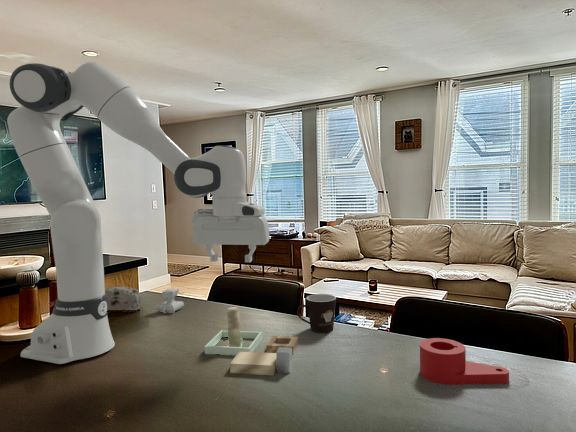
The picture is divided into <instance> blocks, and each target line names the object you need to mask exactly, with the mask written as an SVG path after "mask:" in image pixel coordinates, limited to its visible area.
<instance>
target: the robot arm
mask: <svg viewBox="0 0 576 432" xmlns="http://www.w3.org/2000/svg"><path fill="white" fill-rule="evenodd" d="M9 89H10V93H11V95H12V97H13V98H14V99H15V101H16V102H17V103H18V104H20V105H21V106H20V107H17V108H15V109H14V110H12V111H11V112H10V113H9V114H8V117H7V120H6V123H7V127H8V132H9V134H10V138H11V140H12V144H13V146H14V149H15V152H16V154H17V156H18V158H19V160H20V161H21V162H20V163H21V164H22V166H23V168H24V170H25V173H26V174H27V177H28V179H29V181H30V183H31V185H32V187H33V189H34V190H35V192H36V194H37V195H38V197H39V198H40V200H41V202H42V204H43V205H44V207H45V209H46V210H47V213H48V214H49V216H50V224H49V226H50V236H51V245H52V252H53V258H54V260H53V261H54V266H55V272H56V275H55V276H56V277H55V278H56V288H57V289H56V290H57V298H56V299H55V300H53V301H50V302H48V308H53V309H52V313H51V314H50V315H49V316H47V317H46V318H45V319H44V320H43V321H42V322H41V323H40V324H38V325H37V326H36V327H35V328H34V329H33V330H32V332H31V336H30V345H28V346H27V347H25V348H24V349H22V350H21V352H20V357H21V358H24V359H29V360H30V359H31V360H35V361H41V362H47V363H53V364H56V365H62V364H66V363H70V362H73V361H77V360H78V361H79V360H84V359H89V358H92V357H96V356H99V355H102V354H104V353H106V352H108V351H110V350H112V349H114V347H115V345H116V342H115V341H114V337H113V335H112V331H111V327H110V324H109V318H108V317H109V316H108V312H107V311H108V301H107V293H105V292H106V288H105V286H106V285H105V269H104V268H105V267H104V254H103V253H104V252H103V241H102V240H103V239H102V219H101V214H100V212H99V209H98V208H97V205H96V203H95V202H94V199H93V197H92V195H91V192H90V191H89V188H88V186H87V184H86V182H85V180H84V178H83V176H82V174H81V172H80V169H79V167H78V165H77V163H76V161H75V159H74V156H73V154H72V152H71V149H70V148H69V146H68V144H67V141H66V139H65V137H64V135H63V132H62V130H61V126H60V123H61V121H64V122H65V121H68V120H69V119H70V118H71V117H72V116H74V115H75V114H77V113H78V112H79V111H81V110H82V109H83V108H85V109H87V110H88V111H89V112H91V114H93V115H94V117H96V119H98V120H99V121H100V122H101V123H102V124H104V125H105V126H106V128H107V127H108V129H109V130H111V131H113V132H114V133H115V134H117V135H119V136H121V137H122V138H124V139H126V140H128V141H131V142H132V143H134V144H136V145H138V146H140V147H142V148H144V149H145V150H146V151H148V152H149V153H150V154H152V155H153V156H154V158H155V159H157V160H158V161H159V162H161V164H162V165H163V166H164V167H165V168H167V169H168V170H169V171H170V172H171V173H172V174H173V179H174V183H175V186H176V187H177V189H178V190H179V192H181V193H182V194H184V195H185V196H188V197H190V198H195V199H199V198H200V199H201V198H203V197H206V196H208V195H209V194H211V196H212V208H205V209H203V208H199V209H197V210H195V211H194V212H193V214H192V223H193V225H192V226H193V227H192V238H191V240H192V242H193V243H194V244H195V245H205V249H206V251H207V253H208V254H209V259H210V261H209V262H211V263H212V262H218V261H219V254H218V253H215V251H214V250H213V248H214V247H215V245H217V246H218V245H224V246H225V245H233V246H234V245H235V246H239V245H241V246H244V245H245V246H248V249H249V250H250V251H249V253H248V254H245V255H244V263H251V262H252V261H253V254H254V252H255V251H256V249H257V246H265V245H266V244H268V243H269V241H270V228H269V223H268V220H267V218H266V216H264V214H265V213H266V212H265V207H263V206H262V205H258V204H256V203H252V202H249V201H248V198H247V192H246V183H247V167H246V165H247V164H246V159H245V156H244V153H243V152H242V151H241V150H240V149H239V148H237V147H234V146H229V145H221V144H220V145H215V146H214V147H213V148H212V149H210V150H208V151H207V152H205V153H202V154H201V155H198V156H195V157H190V156H189V155H188V154H187V153H185V152H184V151H183V150H182V149H181V148H180V147H179V146H178V145H177V144H176V143H175V142H174V141H173V140H172V139H171V138H170V137H168V135H167V134H166V133H165V132H164V130H163V129H162V127H161V125H160V124H159V123H158V121H157V119H156V117H155V116H154V113H153V112H152V111H151V109H150V108H149V106H148V105H147V103H146V102H145V101H144V99H142V97H141V96H140V95H139V94H138V93H137V92H136V90H135V89H133V88H132V87H131V86H130V85H129V84H128V83H127V82H126V81H124V79H122V78H121V77H120V76H119V75H117V74H116V73H115V72H113V71H112V70H110V69H109V68H107V67H106V66H104V65H103V64H102V63H100V62H96V61H90V62H86V63H83V64H81V65H80V66H78V67H77V68H76V69H75V70H74V71H73V72H71V71H67V70H65V69H62V68H60V67H56V66H51V65H47V64H43V63H37V62H36V63H34V62H32V63H26V64H22V65H20V66H18V67H17V68H15V69H14V70H13V72H12V73H11V75H10V78H9Z"/></svg>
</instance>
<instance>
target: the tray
mask: <svg viewBox="0 0 576 432" xmlns="http://www.w3.org/2000/svg"><path fill="white" fill-rule="evenodd" d="M222 337H228V330H223V329H222V330H220V331H219V332H218V333H216V335H214V336H213V338H211V339H210V340H209V342H208V343H206V344H205V345H204V355H215V354H220V355H219V356H231V355H232V357H233V356H234V357H235V356H236V355H237V354H238V352H255V350H256V348H257V347H258V346H259V344H260V343H261V341H262V339H263V331H249V330H248V331H245V330H244V331H243V330H240V338H244V339H251V340H252V339H254V340H253V341H252V342H251V343H250V344H249V346H246V347H244V346H243V345H244V341H243V342H242V343H243V344H242V343H241V346H240V347H227V346H215V345H216V344H217V343H218V342H219V341H221V340H222V339H223V338H222ZM221 338H222V339H221ZM220 339H221V340H220Z"/></svg>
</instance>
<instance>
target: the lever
mask: <svg viewBox="0 0 576 432" xmlns="http://www.w3.org/2000/svg"><path fill="white" fill-rule="evenodd" d="M466 353H467V349H466V346H465V345H464V344H463V343H462V342H458V341H456V340H454V339H448V338H443V337H442V338H441V337H432V338H431V337H430V338H427V339H426V338H425V339H422V340H421V341H420V342H419V373H420V375H421V377H422V378H424V379H425V380H427V381H429V382H432V383H436V384H439V385H449V386H450V385H451V386H452V385H454V386H456V385H507V384H509V383H510V370H509V369H507V368H505V367H502V366H499V365H498V366H497V365H492V364H486V363H478V362H474V361H467V360H466Z"/></svg>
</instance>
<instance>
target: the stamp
mask: <svg viewBox="0 0 576 432" xmlns="http://www.w3.org/2000/svg"><path fill="white" fill-rule="evenodd" d="M179 290H180V289H179V288H167V289H164V290H162V292H161V294H162V298H164V299H166V301H164V302H162V303H160V304H158V305H157V307H156V310H157V311H158V312H159V311H163V314H166V313H165V312H175V311H176V310H178V309H180V308H182V307H183V308H184V306H185V303H184V301H182V300H181V301H180V300H175V297H177V296H178V294H179V292H180V291H179ZM183 308H182V309H183ZM175 313H176V312H175Z"/></svg>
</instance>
